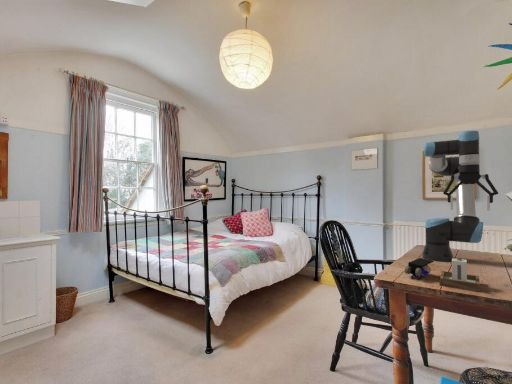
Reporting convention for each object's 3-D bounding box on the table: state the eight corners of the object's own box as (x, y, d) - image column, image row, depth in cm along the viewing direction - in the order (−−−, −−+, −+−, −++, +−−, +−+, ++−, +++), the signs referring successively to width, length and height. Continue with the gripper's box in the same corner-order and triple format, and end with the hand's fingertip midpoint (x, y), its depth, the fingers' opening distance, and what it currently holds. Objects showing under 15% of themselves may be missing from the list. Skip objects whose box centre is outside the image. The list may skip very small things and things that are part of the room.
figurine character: (420, 284, 120) (434, 274, 129) (419, 268, 119) (433, 258, 128) (404, 281, 125) (419, 271, 134) (403, 264, 125) (418, 256, 134)
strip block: (452, 279, 119) (452, 256, 119) (466, 281, 116) (466, 258, 116) (451, 282, 115) (451, 259, 115) (467, 284, 112) (466, 260, 112)
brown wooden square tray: (441, 277, 125) (441, 271, 125) (478, 283, 117) (478, 276, 117) (439, 285, 114) (439, 278, 114) (480, 292, 107) (480, 284, 107)
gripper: (436, 165, 133) (437, 209, 134) (505, 161, 118) (506, 211, 118) (437, 166, 139) (438, 208, 140) (503, 163, 124) (504, 210, 124)
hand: (469, 209), depth 129 cm, fingers open, 13 cm apart
